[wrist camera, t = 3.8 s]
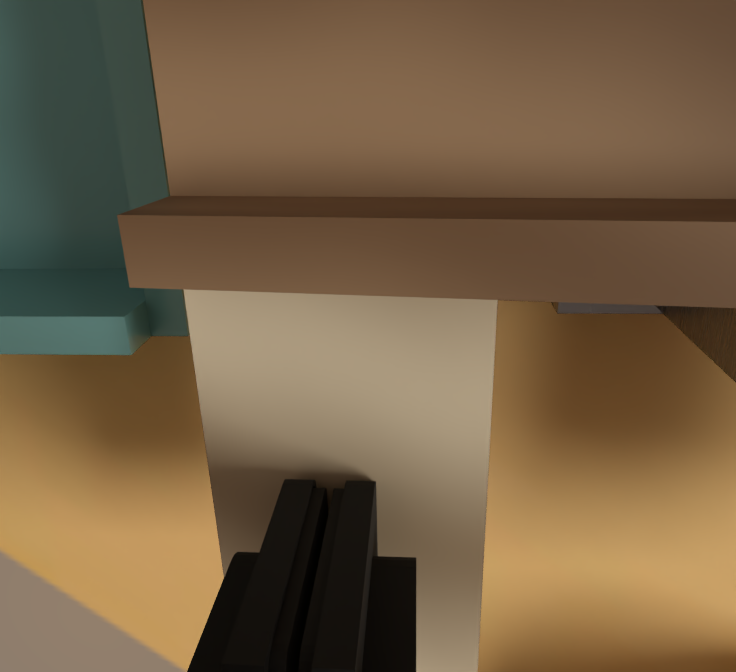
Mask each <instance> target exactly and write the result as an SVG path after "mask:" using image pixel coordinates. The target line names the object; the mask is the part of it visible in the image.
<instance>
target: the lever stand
mask: <svg viewBox="0 0 736 672" xmlns="http://www.w3.org/2000/svg"><path fill="white" fill-rule="evenodd" d="M551 303H552V305H553V307H554V308H555V310H556V312H557V313H617V314H664V315H665V316H666V317H667V318H668V319H669V320H670V321H671V322H673V323H674V324H675V325H676V326H677V327H678V328H679V329H680V330H681V331H682V332H683V333H684V334H685V335H686V336H687V337H688V338H689V339H690V340H691V341H693V342H694V343H695V344H696V345H697V346H698V347H699V348H700V349H701V350H702V351H703V352H704V353H705V354H706V355H707V356H708V357H709V358H710V359H711V360H713V361H714V362H715V363H716V364H717V365H718V366H719V367H720V368H721V369H722V370H723V371H724V372H725V373H726V374H727V375H728V376H729V377H730V378H731V379H733V380H734V381H735V382H736V308H717V307H687V306H658V305H628V304H599V303H569V302H551Z"/></svg>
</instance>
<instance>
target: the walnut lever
mask: <svg viewBox="0 0 736 672" xmlns="http://www.w3.org/2000/svg"><path fill="white" fill-rule="evenodd" d="M143 5H144V12H145V20H146V27H147V34H148V41H149V48H150V55H151V62H152V69H153V76H154V83H155V91H156V98H157V105H158V112H159V119H160V126H161V133H162V140H163V147H164V155H165V162H166V169H167V176H168V183H169V190H170V196H169V197H166V198H163V199H160V200H157V201H155V202H152V203H149V204H146V205H144V206H141V207H138V208H135V209H132V210H130V211H127V212H124V213H121V214H118V215H117V218H118V223H119V229H120V235H121V241H122V246H123V252H124V258H125V264H126V269H127V275H128V281H129V287H130V288H156V289H184V297H185V304H186V311H187V318H188V325H189V332H190V339H191V346H192V353H193V361H194V368H195V375H196V382H197V389H198V396H199V403H200V410H201V417H202V424H203V432H204V439H205V446H206V453H207V460H208V467H209V474H210V481H211V488H212V496H213V503H214V510H215V517H216V524H217V531H218V538H219V545H220V552H221V559H222V567H223V574H224V577H225V575H226V572H227V569H228V567H229V564H230V562H231V560H232V558H233V556H234V554H235V553H237V552H260V549H261V546H262V543H263V540H264V537H265V534H266V531H267V528H268V525H269V522H270V520H271V517H272V514H273V511H274V508H275V505H276V502H277V499H278V496H279V493H280V490H281V487H282V484H283V482H284V480H285V479H305V480H315V481H316V485H317V488H326V489H327V499H328V514H329V509H330V504H331V500H332V495H333V490H334V488H343V489H344V487H345V482H346V480H347V481H376V497H377V541H378V556H385V557H416V672H478V654H479V636H480V617H481V599H482V580H483V562H484V543H485V525H486V506H487V488H488V469H489V451H490V432H491V414H492V395H493V377H494V358H495V340H496V321H497V303H498V300H510V301H539V302H569V303H599V304H628V305H658V306H687V307H717V308H736V0H143Z"/></svg>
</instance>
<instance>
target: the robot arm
mask: <svg viewBox="0 0 736 672" xmlns="http://www.w3.org/2000/svg"><path fill="white" fill-rule="evenodd" d="M187 672H416V557H385V556H378V541H377V497H376V481H347V480H346V482H345V487H344V489H343V488H334V490H333V495H332V500H331V504H330V509H329V514H328V499H327V489H326V488H317V485H316V481H315V480H305V479H285V480H284V482H283V484H282V487H281V490H280V493H279V496H278V499H277V502H276V505H275V508H274V511H273V514H272V517H271V520H270V522H269V525H268V528H267V531H266V534H265V537H264V540H263V543H262V546H261V549H260V552H237V553H235V554H234V556H233V558H232V560H231V562H230V564H229V567H228V569H227V572H226V575H225V577H224V580H223V582H222V585H221V587H220V590H219V592H218V595H217V597H216V600H215V602H214V605H213V607H212V610H211V613H210V615H209V618H208V620H207V623H206V625H205V628H204V630H203V633H202V635H201V638H200V640H199V643H198V645H197V648H196V650H195V653H194V656H193V658H192V661H191V663H190V666H189V668H188V671H187Z"/></svg>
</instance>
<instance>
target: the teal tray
mask: <svg viewBox="0 0 736 672" xmlns="http://www.w3.org/2000/svg"><path fill="white" fill-rule="evenodd" d="M169 196H170V190H169V183H168V176H167V169H166V162H165V155H164V147H163V140H162V133H161V126H160V119H159V112H158V105H157V98H156V91H155V83H154V76H153V69H152V62H151V55H150V48H149V41H148V34H147V27H146V20H145V12H144V5H143V0H0V354H52V355H132V354H133V353H134V352H135V351H136V350H137V349H138V348H139V347H140V346H141V345H142V344H143V343H145V342H146V341H147V340H148V339H149V338H150V337H151V336H189V335H190V332H189V325H188V318H187V311H186V304H185V297H184V289H156V288H130V287H129V281H128V275H127V269H126V264H125V258H124V252H123V246H122V241H121V235H120V229H119V223H118V218H117V215H118V214H121V213H124V212H127V211H130V210H132V209H135V208H138V207H141V206H144V205H146V204H149V203H152V202H155V201H157V200H160V199H163V198H166V197H169Z"/></svg>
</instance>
